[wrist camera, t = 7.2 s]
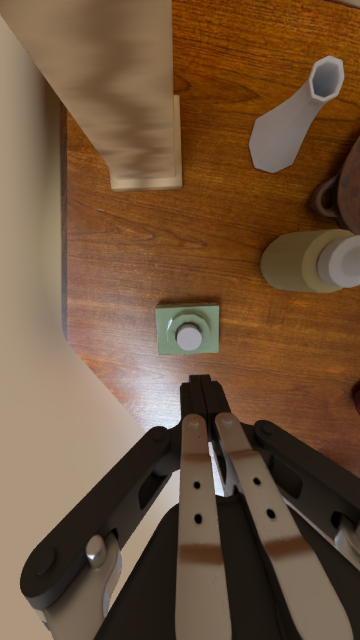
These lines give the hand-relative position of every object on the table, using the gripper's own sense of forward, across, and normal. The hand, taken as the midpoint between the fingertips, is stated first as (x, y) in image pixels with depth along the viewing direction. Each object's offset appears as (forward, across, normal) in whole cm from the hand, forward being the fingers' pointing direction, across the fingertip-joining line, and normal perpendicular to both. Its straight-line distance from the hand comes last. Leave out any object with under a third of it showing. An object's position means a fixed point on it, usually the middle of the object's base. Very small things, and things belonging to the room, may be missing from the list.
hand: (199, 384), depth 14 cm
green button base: (+20, 0, -3) cm, 20 cm away
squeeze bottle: (+21, +15, +7) cm, 27 cm away
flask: (+22, +13, +23) cm, 34 cm away
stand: (+22, -5, +22) cm, 32 cm away
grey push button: (+16, 0, -3) cm, 16 cm away
